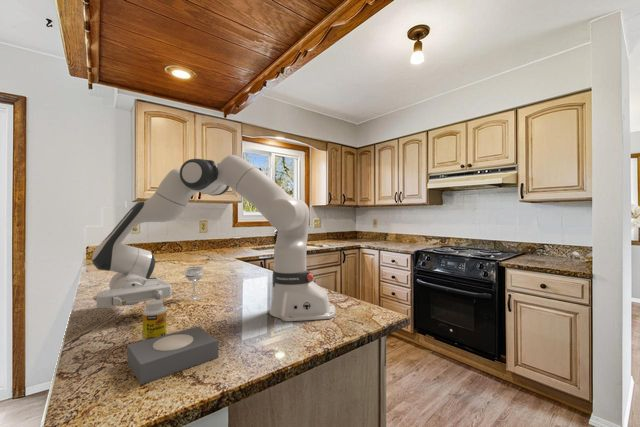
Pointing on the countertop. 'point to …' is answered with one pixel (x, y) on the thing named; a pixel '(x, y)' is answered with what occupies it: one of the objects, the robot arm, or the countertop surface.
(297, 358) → the countertop surface
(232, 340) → the countertop surface
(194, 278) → the wineglass
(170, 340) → the block
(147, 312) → the supplement bottle
